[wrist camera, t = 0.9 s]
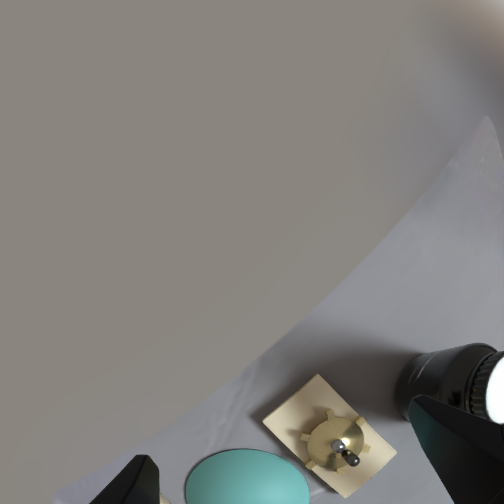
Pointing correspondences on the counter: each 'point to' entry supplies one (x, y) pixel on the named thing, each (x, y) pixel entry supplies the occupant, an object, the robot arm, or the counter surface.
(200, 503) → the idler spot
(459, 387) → the supplement bottle
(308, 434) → the brass gears
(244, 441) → the counter surface
